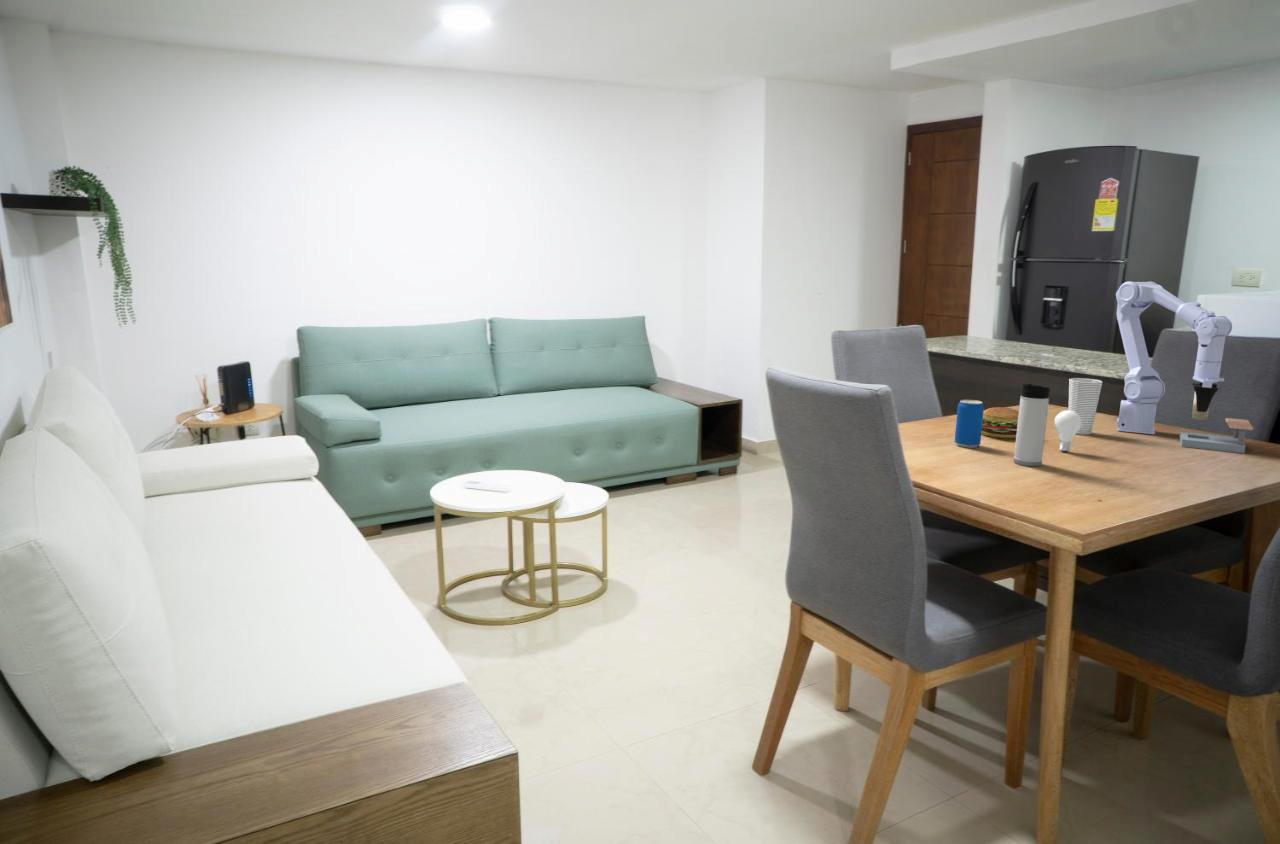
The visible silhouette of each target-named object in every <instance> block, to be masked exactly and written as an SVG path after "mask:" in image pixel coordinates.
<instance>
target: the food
mask: <svg viewBox="0 0 1280 844" xmlns="http://www.w3.org/2000/svg"><path fill="white" fill-rule="evenodd" d="M1018 416H1019V410H1016V409H1013V408H1011V407H1002V406H999V407H996V406H995V407H990V408H987V409H985V410H984V411H983V421H982V431H981V436H982V435H983V436H985V437H988V438H989V437H990V438H995V439H1004V440H1005V439H1006V440H1007V439H1008V440H1014V439H1015V440H1016V434H1017V425H1018Z"/></svg>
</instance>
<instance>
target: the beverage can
mask: <svg viewBox="0 0 1280 844" xmlns="http://www.w3.org/2000/svg"><path fill="white" fill-rule="evenodd" d="M984 409H985V407H984V405H983V402H982V401H981V400H975V399H961V400H960V401H959V403H957V409H956V410H957V411H956V422H955V430H954V431H955V433H954V444H956V445H957V446H958V447H961V448H967V449H968V448H970V449H973V448H978V446H980V445H981V439H982V434H981V431H982V421H983V412H984V411H985V410H984Z"/></svg>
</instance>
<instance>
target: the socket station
mask: <svg viewBox="0 0 1280 844" xmlns="http://www.w3.org/2000/svg"><path fill="white" fill-rule="evenodd" d="M1224 420H1225V423H1226V424H1227V426H1228V427H1229V428H1230V429H1234V432H1233V436H1231V435H1224V434H1223V435H1222V434H1221V435H1220V434H1211V433H1203V432H1202V433H1201V432H1193V431H1182V430H1180V432H1179V437H1178V438H1180V439H1179V442H1180V446H1181V447H1182V448H1191V449H1192V448H1193V449H1199V450H1200V449H1201V450H1209V451H1210V450H1211V451H1217V452H1218V451H1219V452H1227V453H1228V452H1229V453H1238V454H1245V452H1246V444H1245V443H1244V442H1245V438H1246V431H1248V430H1249V431H1253V430H1254V427H1253V426H1252V424H1251V423H1250V421H1249V420H1248V419H1241V418H1230V417H1225V419H1224Z"/></svg>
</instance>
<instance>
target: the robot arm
mask: <svg viewBox="0 0 1280 844" xmlns="http://www.w3.org/2000/svg"><path fill="white" fill-rule="evenodd" d="M1115 296H1116V301H1117V306H1116V307H1117V308H1116V319H1117V324H1118V327H1119V332H1120V335H1121V339H1122V340H1121V341H1122V344H1123V349H1124V354H1125V358H1126V362H1127V364H1128V365H1127V366H1128V371H1129V372H1128V373H1127V374H1126V375H1125V376H1124V378H1123V380H1124V387H1123V394H1124V396H1125V397H1126V398H1127V399H1126V400H1124V399H1120V400H1121V401H1120V408H1119V415H1118V418H1117V419H1116V425H1117V431H1118V432H1128V433H1137V434H1146V435H1156V432H1155V431H1156V429H1155V421H1156V413H1157V406H1158V403H1159V401H1160V399H1161V398H1162V397H1163V396H1164V395H1165V392H1166V385H1165V382H1163V380H1162V379H1161V377H1160V374H1159V372H1158V371H1157V370H1155V369H1154V368H1153V367H1152V364H1151V362H1150V357H1149V353H1148V348H1147V345H1146V344H1147V343H1146V341H1145V340H1146V339H1145V336H1144V332H1143V328H1142V323H1141V319H1140V316H1141V314H1142V313H1143V312H1145V310H1146V309H1147V308H1148V307H1150V306H1151V305H1152V304H1153V303H1155V304H1158V305H1159V306H1162V307H1164V308H1166V309H1167V310H1169V311H1172V312H1174V313H1176V318H1177V320H1178V321H1179V322H1181V323H1183V324H1185V325H1186V326H1188V327H1190V328H1192V329H1193V330H1195V333H1196V335H1197V337H1198V338H1197V342H1198V346H1197V347H1198V348H1197V354H1196V360H1195V367H1194V373H1193V376H1192V380H1193V381H1197V382H1196V383H1194V382H1193V383H1191V384H1192V387H1193V389H1194V394H1195V393H1196V402H1197V411H1198V412H1207V410H1208V408H1209V409H1210V405H1211V402H1212V399H1213V397H1214V396H1215V394H1216V393H1217V392H1218V391H1219V387H1218V384H1216V383H1217V382H1225V378H1224V377H1220V374H1221V370H1222V369H1221V367H1222V362H1223V356H1224V355H1223V354H1224V349H1225V344H1226V343H1225V341H1226V337H1227V336H1229V335H1230V334H1231V332H1232V329H1233V323H1232V322H1231V320H1230V319H1229V318H1228V317H1227V316H1225V315H1219V316H1216V312H1215V311H1209V310H1208V309H1206V308H1204V307H1202V306H1201V305H1202V303H1200V302H1198V301H1189V302H1184V301H1183V300H1182V299H1180V298H1179V297H1176V296H1175V295H1173V294H1172V293H1171V292H1169V291H1168V290H1166V289H1165V288H1164V287H1163V286H1162V285H1160V284H1157V283H1156V282H1154V281H1126V282H1124V283H1122V284H1121V285H1120V286H1119V287H1118V290H1117V291H1116V293H1115ZM1198 382H1199V383H1198ZM1208 411H1209V410H1208Z"/></svg>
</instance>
